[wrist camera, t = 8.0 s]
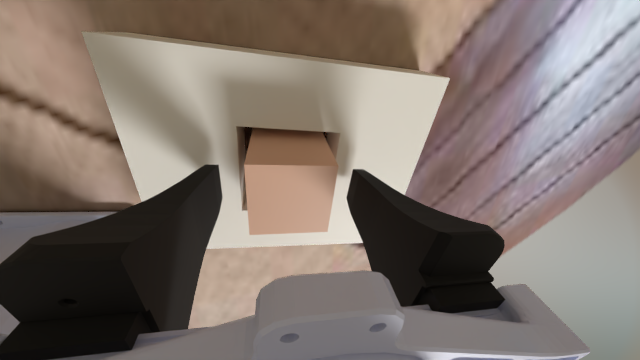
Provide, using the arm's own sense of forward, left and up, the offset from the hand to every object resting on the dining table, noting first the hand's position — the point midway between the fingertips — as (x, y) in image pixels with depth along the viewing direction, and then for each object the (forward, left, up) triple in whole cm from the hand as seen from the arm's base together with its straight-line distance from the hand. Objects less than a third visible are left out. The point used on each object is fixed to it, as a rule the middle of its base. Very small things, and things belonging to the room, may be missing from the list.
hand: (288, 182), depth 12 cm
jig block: (0, 0, -4) cm, 4 cm away
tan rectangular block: (0, 0, -4) cm, 4 cm away
